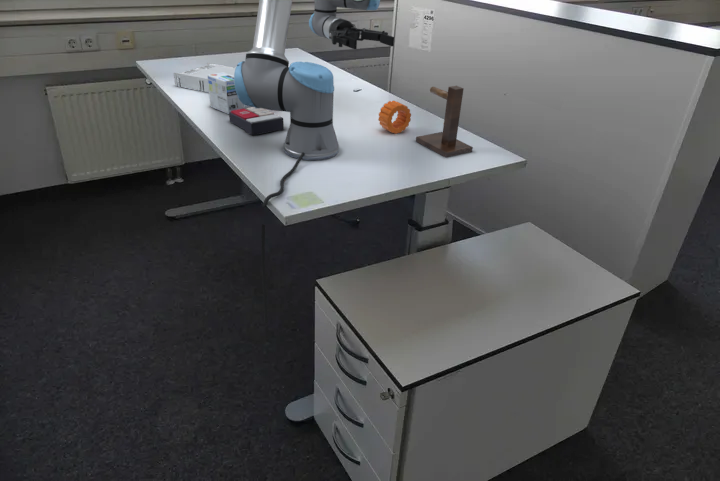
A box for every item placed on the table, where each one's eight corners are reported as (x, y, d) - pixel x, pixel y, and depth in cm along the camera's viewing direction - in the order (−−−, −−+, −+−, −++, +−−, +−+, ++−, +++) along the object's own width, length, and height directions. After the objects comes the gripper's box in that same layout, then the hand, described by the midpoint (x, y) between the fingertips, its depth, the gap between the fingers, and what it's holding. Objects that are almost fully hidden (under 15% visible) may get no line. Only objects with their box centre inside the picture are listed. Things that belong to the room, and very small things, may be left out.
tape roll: (388, 137, 172) (385, 110, 166) (379, 132, 175) (376, 105, 170) (412, 128, 175) (410, 100, 170) (403, 123, 179) (401, 96, 173)
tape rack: (472, 151, 163) (481, 90, 154) (445, 157, 158) (454, 94, 149) (438, 134, 174) (445, 76, 165) (412, 139, 169) (418, 79, 160)
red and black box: (259, 104, 179) (283, 115, 169) (260, 117, 181) (284, 129, 171) (228, 109, 173) (251, 121, 163) (229, 123, 175) (252, 135, 165)
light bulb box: (245, 111, 185) (243, 78, 179) (228, 115, 180) (225, 81, 175) (226, 103, 191) (223, 71, 185) (209, 107, 186) (206, 74, 181)
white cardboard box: (208, 75, 220) (207, 62, 218) (279, 89, 208) (278, 75, 206) (175, 86, 205) (173, 72, 203) (249, 101, 194) (248, 87, 191)
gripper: (370, 40, 193) (406, 53, 177) (305, 44, 181) (338, 58, 165) (371, 17, 189) (408, 28, 174) (305, 20, 177) (339, 32, 162)
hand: (374, 43), depth 170 cm, fingers open, 13 cm apart
